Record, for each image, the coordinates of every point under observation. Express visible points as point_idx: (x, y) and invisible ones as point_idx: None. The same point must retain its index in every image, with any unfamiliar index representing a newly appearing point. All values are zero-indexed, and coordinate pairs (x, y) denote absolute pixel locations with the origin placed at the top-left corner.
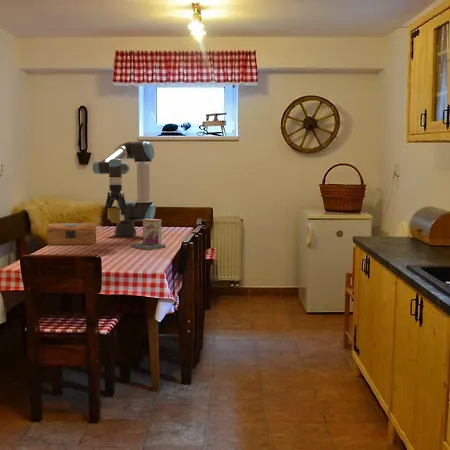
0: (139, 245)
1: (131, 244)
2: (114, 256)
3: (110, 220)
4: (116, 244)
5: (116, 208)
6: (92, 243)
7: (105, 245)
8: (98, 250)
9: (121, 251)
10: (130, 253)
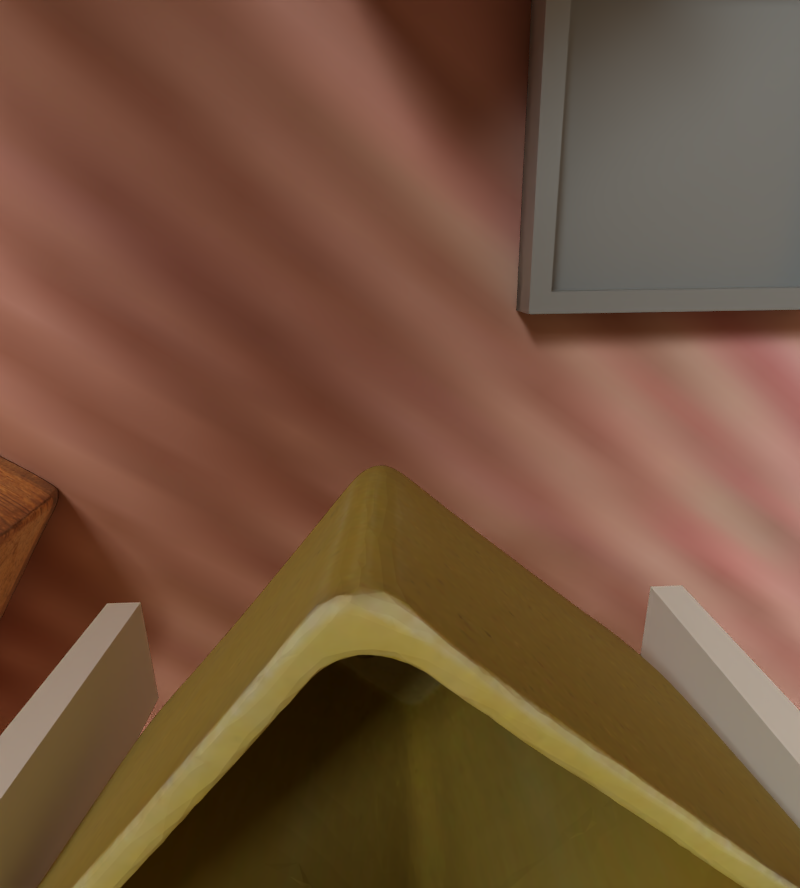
0: (688, 294)
1: (535, 313)
2: (793, 703)
3: (420, 774)
4: (84, 235)
5: (135, 851)
6: (36, 531)
7: (100, 396)
8: None
9: (617, 515)
10: (785, 523)
